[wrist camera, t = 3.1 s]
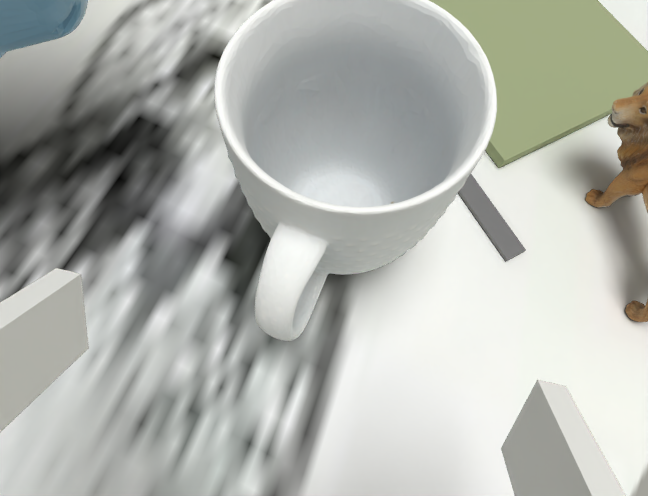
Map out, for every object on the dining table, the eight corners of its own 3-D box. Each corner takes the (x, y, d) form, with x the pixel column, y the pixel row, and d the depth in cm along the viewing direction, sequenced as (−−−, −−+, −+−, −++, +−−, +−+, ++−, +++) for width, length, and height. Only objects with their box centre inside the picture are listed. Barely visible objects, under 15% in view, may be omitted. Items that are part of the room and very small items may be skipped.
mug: (368, 385, 24) (423, 379, 12) (203, 317, 25) (96, 246, 13) (438, 180, 29) (529, 22, 17) (295, 130, 30) (281, -51, 18)
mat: (386, 18, 34) (388, 7, 33) (539, -42, 37) (545, -53, 36) (498, 168, 29) (504, 160, 28) (664, 87, 32) (674, 78, 31)
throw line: (347, 33, 33) (347, 30, 33) (363, 27, 34) (363, 24, 33) (505, 261, 27) (507, 260, 27) (523, 251, 27) (526, 250, 27)
